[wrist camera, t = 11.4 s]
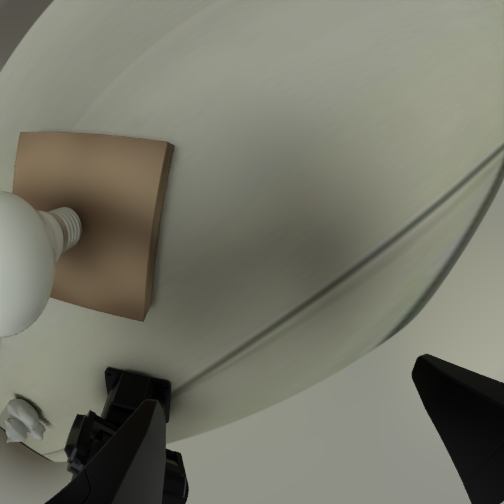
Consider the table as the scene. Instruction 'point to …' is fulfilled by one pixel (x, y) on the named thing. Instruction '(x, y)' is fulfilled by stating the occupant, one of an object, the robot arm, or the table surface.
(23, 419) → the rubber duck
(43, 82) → the table surface
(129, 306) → the walnut plinth
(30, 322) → the lightbulb
